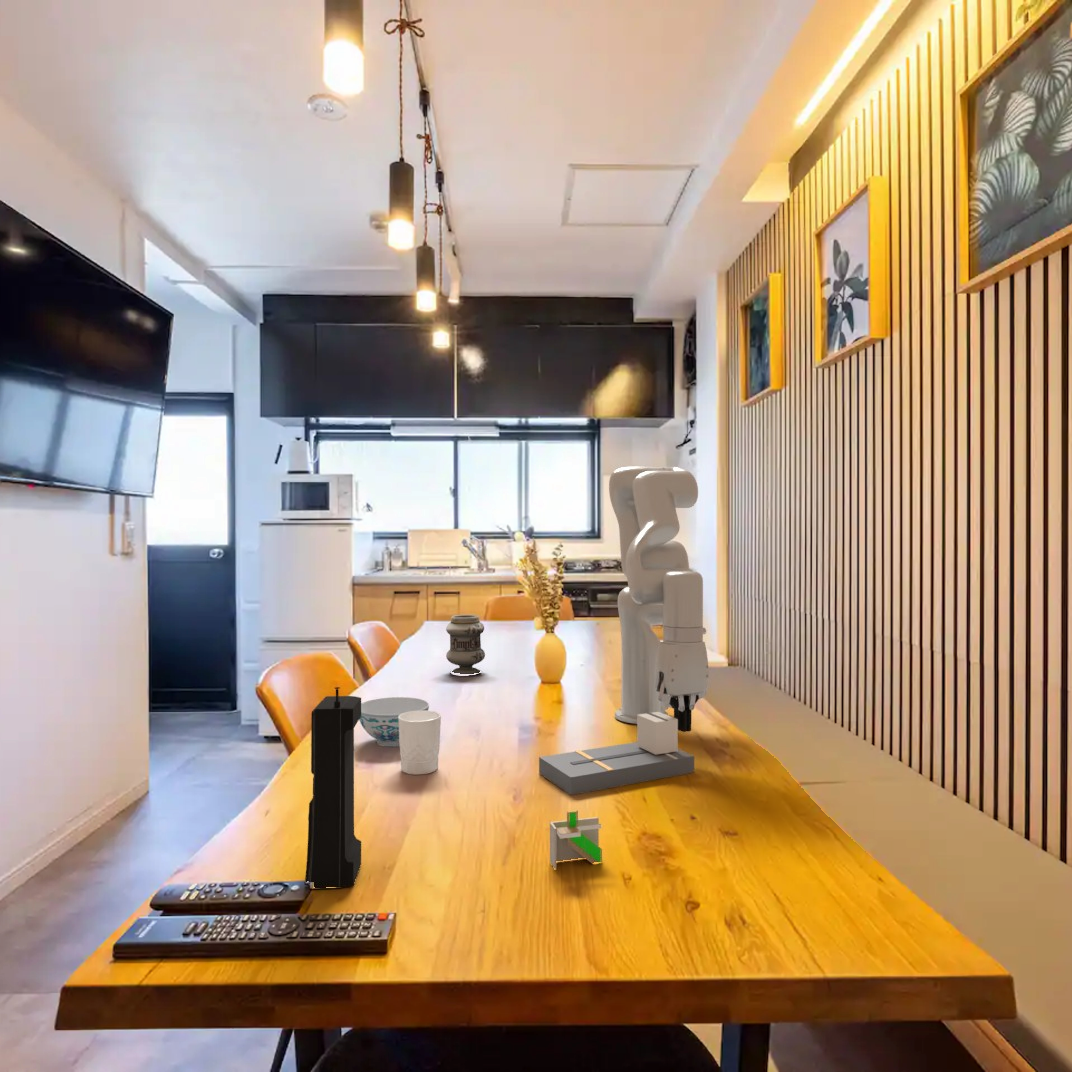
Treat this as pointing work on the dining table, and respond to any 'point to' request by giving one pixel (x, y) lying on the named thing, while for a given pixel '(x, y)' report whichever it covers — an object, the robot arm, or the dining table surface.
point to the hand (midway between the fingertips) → (682, 729)
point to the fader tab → (657, 733)
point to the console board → (612, 767)
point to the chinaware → (387, 717)
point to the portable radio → (333, 794)
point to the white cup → (419, 741)
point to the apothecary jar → (465, 643)
